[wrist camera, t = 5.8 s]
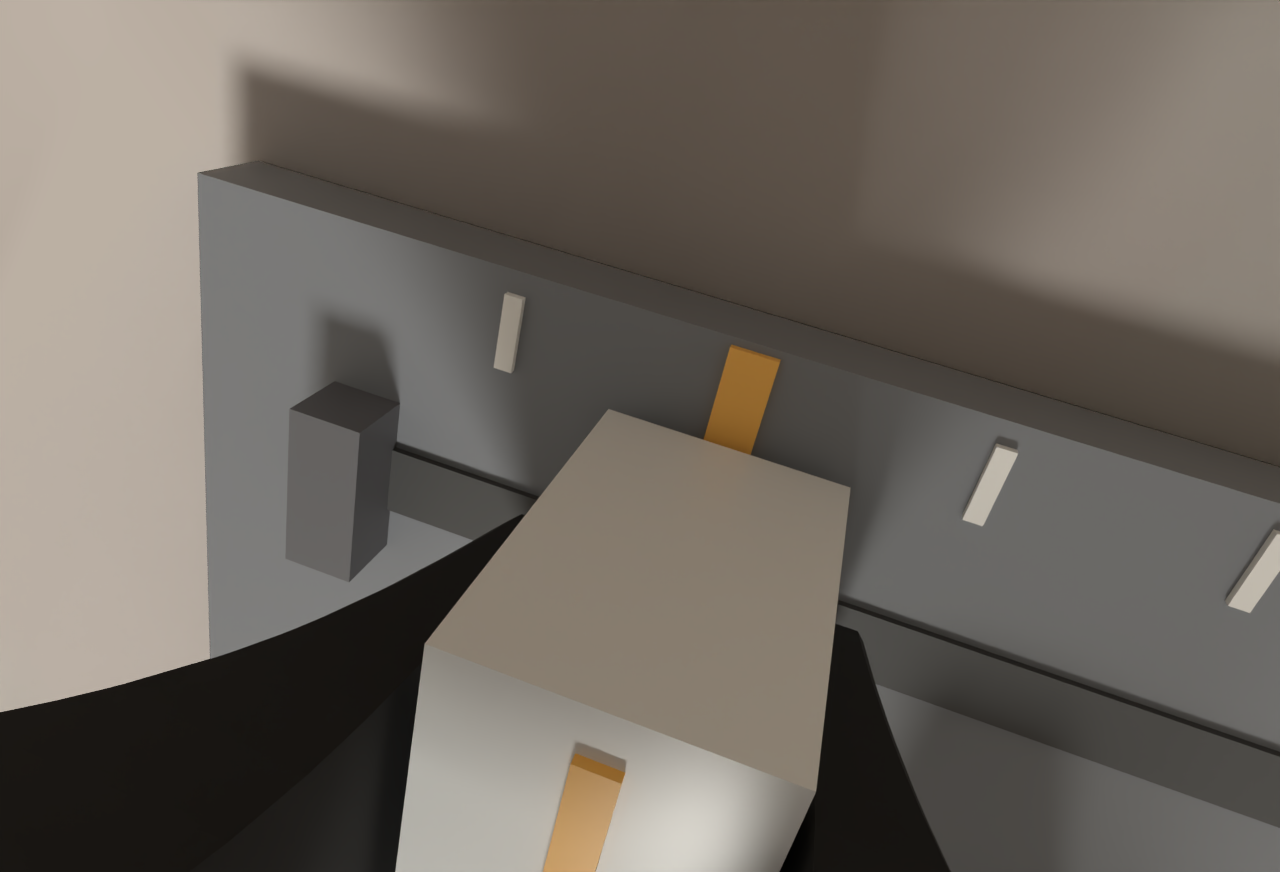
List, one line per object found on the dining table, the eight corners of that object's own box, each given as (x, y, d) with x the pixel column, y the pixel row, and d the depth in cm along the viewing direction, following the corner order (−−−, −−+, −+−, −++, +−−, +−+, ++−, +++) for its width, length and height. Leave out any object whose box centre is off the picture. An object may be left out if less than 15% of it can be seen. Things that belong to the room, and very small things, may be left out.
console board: (1212, 1219, 16) (1255, 1384, 14) (254, 814, 19) (179, 904, 17) (1890, 650, 9) (2149, 811, 7) (258, 160, 12) (136, 183, 10)
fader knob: (743, 759, 12) (663, 1131, 8) (546, 685, 13) (374, 1003, 8) (851, 487, 10) (814, 803, 6) (608, 408, 10) (418, 653, 6)
